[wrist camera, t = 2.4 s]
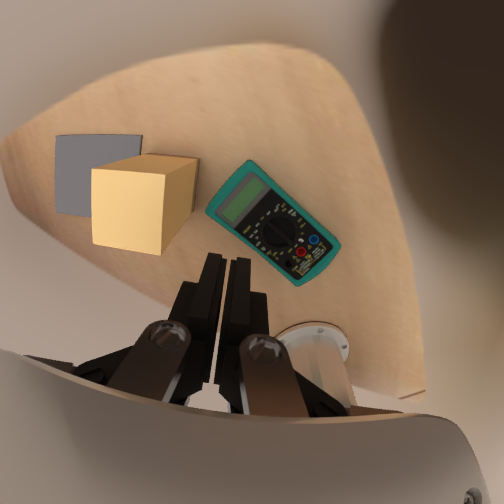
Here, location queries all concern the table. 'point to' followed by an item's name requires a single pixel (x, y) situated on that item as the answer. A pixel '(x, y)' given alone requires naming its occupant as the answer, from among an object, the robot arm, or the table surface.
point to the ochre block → (142, 201)
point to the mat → (86, 166)
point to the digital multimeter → (273, 224)
